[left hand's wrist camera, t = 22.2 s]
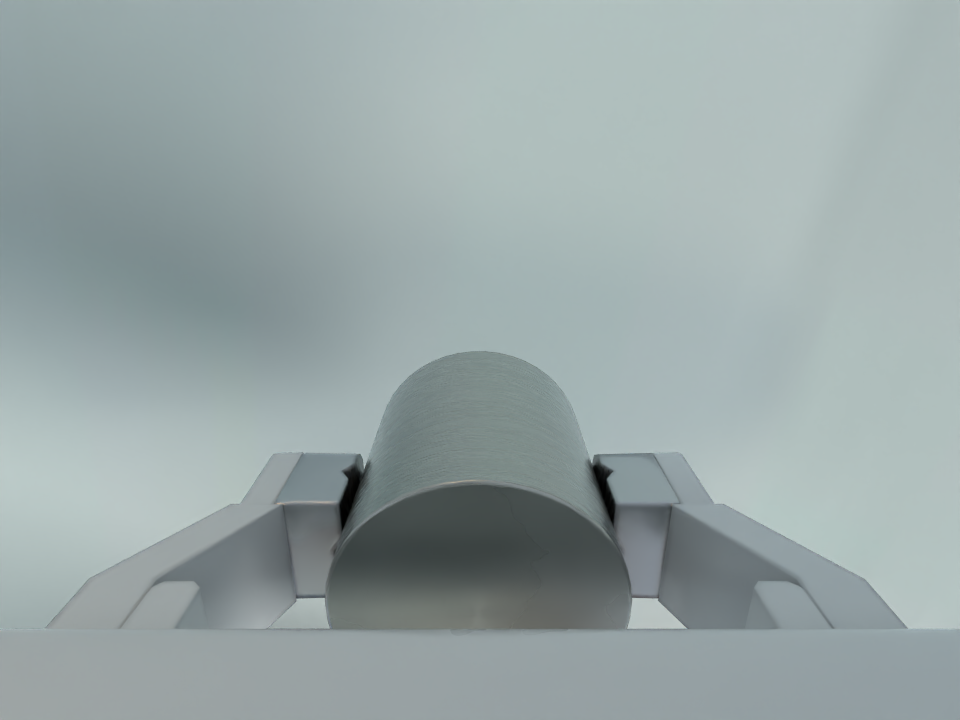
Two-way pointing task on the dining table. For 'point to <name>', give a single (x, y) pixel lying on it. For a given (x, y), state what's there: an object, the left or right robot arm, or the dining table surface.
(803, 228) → the dining table surface
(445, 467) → the can
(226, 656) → the left robot arm
